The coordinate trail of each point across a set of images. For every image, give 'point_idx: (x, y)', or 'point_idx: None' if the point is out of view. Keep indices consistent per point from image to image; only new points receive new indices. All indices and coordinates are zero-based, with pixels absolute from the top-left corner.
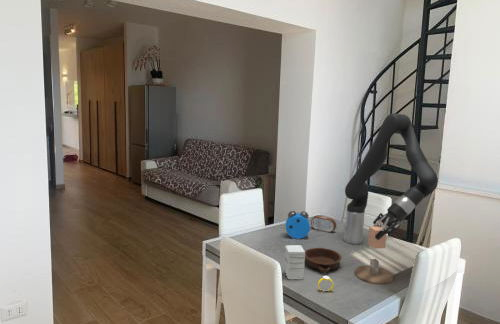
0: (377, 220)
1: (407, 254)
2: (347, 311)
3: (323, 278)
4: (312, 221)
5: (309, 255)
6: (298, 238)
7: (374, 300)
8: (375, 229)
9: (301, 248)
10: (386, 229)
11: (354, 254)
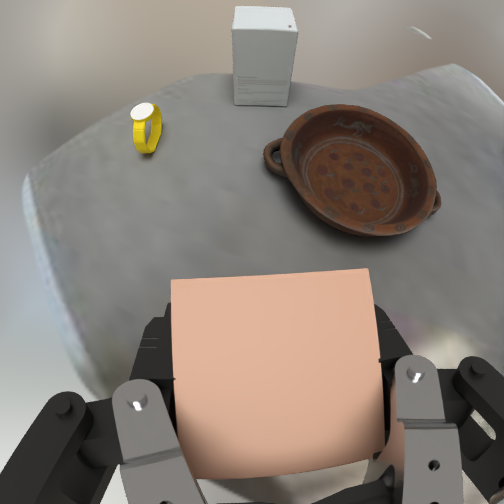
0: (490, 424)
1: None
2: (49, 174)
3: (140, 104)
4: None
5: (389, 145)
6: None
7: (67, 270)
8: (226, 311)
9: (264, 25)
10: (59, 419)
11: (454, 344)
